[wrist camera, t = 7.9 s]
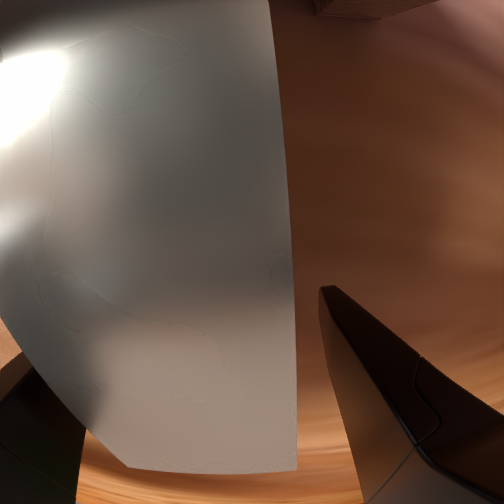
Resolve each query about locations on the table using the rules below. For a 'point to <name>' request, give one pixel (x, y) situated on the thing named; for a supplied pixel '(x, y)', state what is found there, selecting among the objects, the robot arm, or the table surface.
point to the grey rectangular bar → (151, 226)
